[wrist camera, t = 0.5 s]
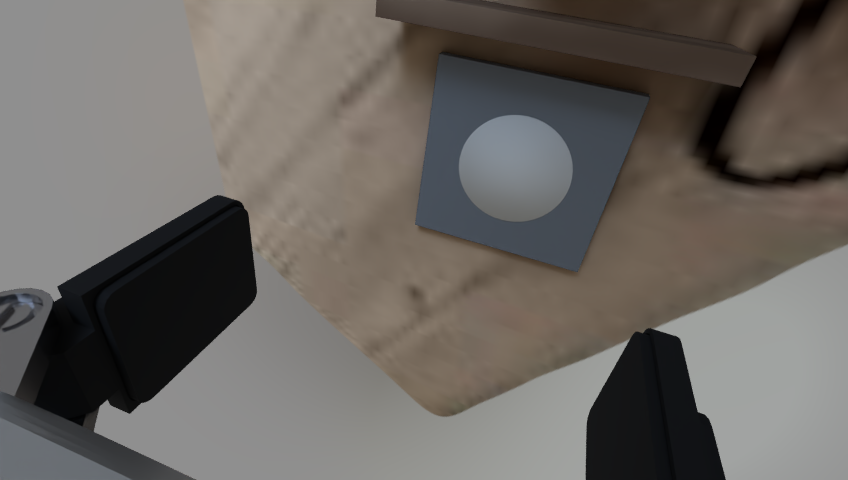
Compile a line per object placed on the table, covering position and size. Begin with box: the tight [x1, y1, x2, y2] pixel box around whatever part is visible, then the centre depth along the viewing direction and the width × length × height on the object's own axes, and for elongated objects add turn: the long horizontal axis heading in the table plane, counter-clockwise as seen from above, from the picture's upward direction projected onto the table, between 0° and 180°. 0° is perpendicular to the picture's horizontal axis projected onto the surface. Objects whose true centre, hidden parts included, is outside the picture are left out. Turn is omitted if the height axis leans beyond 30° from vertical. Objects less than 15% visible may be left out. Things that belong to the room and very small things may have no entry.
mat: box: [415, 52, 650, 272], centre depth 35 cm, size 15×15×1 cm
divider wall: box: [376, 0, 756, 87], centre depth 28 cm, size 2×22×5 cm, turn 82°
